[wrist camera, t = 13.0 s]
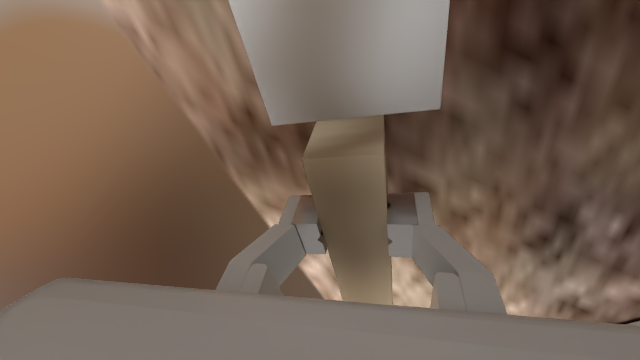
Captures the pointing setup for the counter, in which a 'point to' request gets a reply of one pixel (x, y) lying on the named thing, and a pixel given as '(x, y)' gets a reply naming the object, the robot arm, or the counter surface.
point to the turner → (347, 108)
